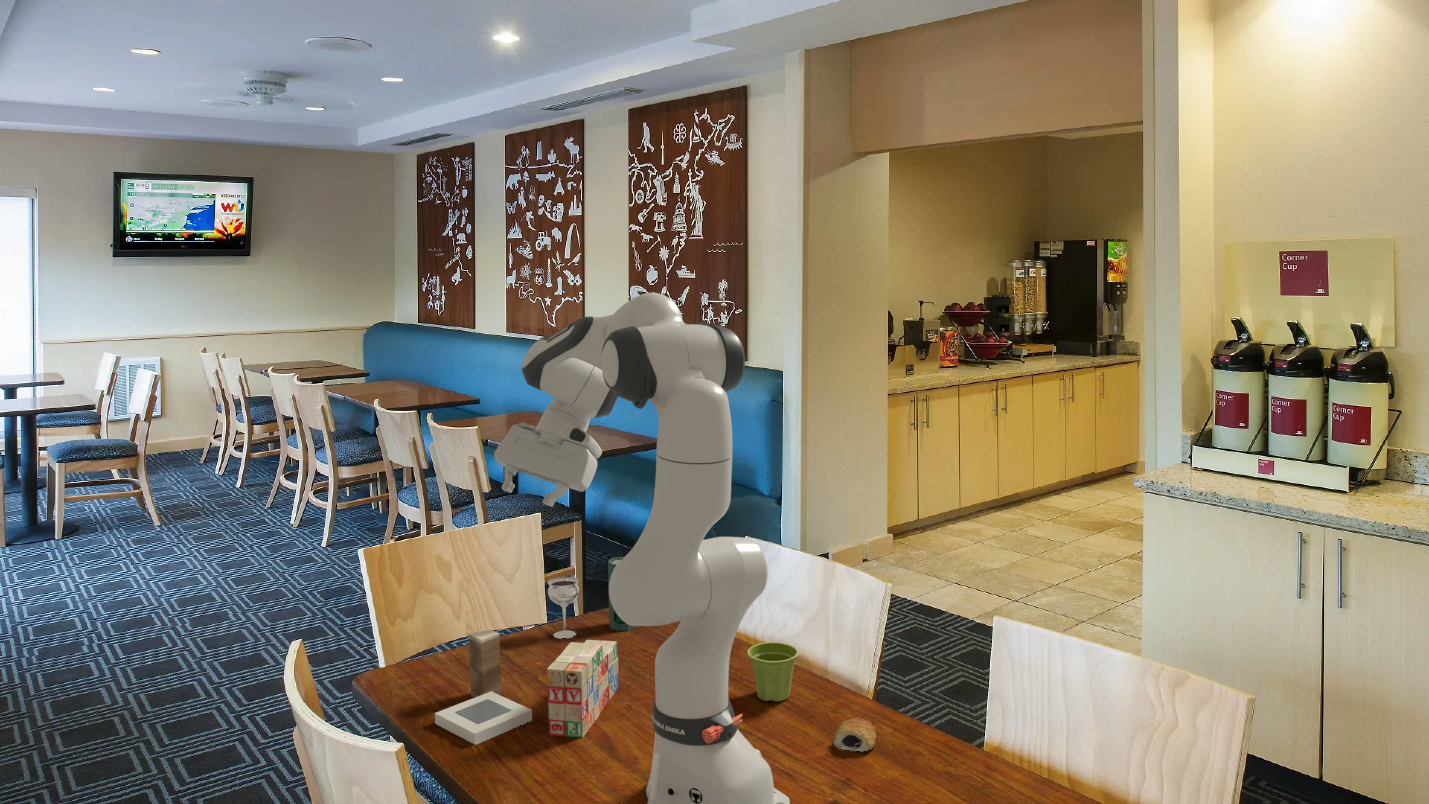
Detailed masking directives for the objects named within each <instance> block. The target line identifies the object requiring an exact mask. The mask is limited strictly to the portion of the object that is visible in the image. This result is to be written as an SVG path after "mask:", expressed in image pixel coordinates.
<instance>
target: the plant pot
mask: <svg viewBox="0 0 1429 804" xmlns="http://www.w3.org/2000/svg"><path fill="white" fill-rule="evenodd" d="M747 655H748V657H749V659H750V662H751V664H752V669H753V675H754V676H753V677H754V684H755V689H756V696H757V697H758V698H759V699H760V700H762V701H764V702H768V701H772V702H775V703H777V702H782V701H785V700H787V699H789V697H790V695H791V688H792V680H793V672H794V665H795V663H796V660H797V657H798V656H799V650H798V649H797V648H796V647H795V646H794V645H792V644H788V643H784V642H776V641H772V642H771V641H770V642H761V643H757V644H754V645H753V646H751V647H749V648H748V650H747Z"/></svg>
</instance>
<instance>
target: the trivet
mask: <svg viewBox="0 0 1429 804" xmlns="http://www.w3.org/2000/svg"><path fill="white" fill-rule="evenodd" d="M532 721H533V710H532V709H531V708H528V707H527V706H525V705H522V704H520V703H518V702H515V701H513V700H511V699H509V698H507V697H506V696H505V697H504V696H502V695H498V694H496V693H494V692H492V691H491V692H488V693H485V694H483V695H480V696H478V697H475V698H474V697H472V698H470V699H468V700H465V701H463V702H460V703H457V704H455V705H452V706H449V707H447V708H444V709H442V710H439V711H437V712H434V723H435V725H437V726H439V727H441V728H443V729H444V730H446V731H448V732H450V733H451V734H454V735H456V736H458V737H460V738H462V739H463V740H465V741H467V742H469V743H471V744H473V745H475V746H477V745H478V744H481V743H483V742H486V741H488V740H490V739H493V738H495V737H497V736H499V735H501V734H505V733H506V732H509V731H511V730H513V728H514V729H516V728H518V727H520V725H521V726H523V725H525V724H527V722H528V723H530V722H532Z"/></svg>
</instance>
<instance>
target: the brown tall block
mask: <svg viewBox="0 0 1429 804" xmlns="http://www.w3.org/2000/svg"><path fill="white" fill-rule="evenodd" d="M500 635H501V634H500V633H499V632H497V631H494V630H493V629H490V628H488V627H487V628H486V627H485V628H483V629H480V630H477V631H474V632H471V633H468V634H467V638H468V653H469V655H468V656H469V678H470V679H469V680H470V681H469V682H470V696H471V697H472V696H473V697H472V698H474V697H478V696H480V695H483V694H485V693H488V692H491V691H492V692H494V693H496V694H498V695H500V696H502V694H503V693H502V675H501V674H502V673H501V651H500V649H501V647H500V646H501V645H500Z"/></svg>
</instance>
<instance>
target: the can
mask: <svg viewBox="0 0 1429 804" xmlns="http://www.w3.org/2000/svg"><path fill="white" fill-rule="evenodd" d="M624 557H625V556H620V557H618V556H617V557H612V558H610V559H609V560H608V561H607V571H608V572H607V574H608V579H607V581H608V582H607V583H608V586H609V582H610V577H611V574H612V572H613V570H614V568H615V566H616V565H617V564H618V563H619V562H620V561H621V560H622V559H623V558H624ZM608 616H609V617H608V620H609V621H608V622H609V628H610V629H611V630H614V631H618V632H619V631H620V632H625V631H628V632H630V631H632V630H635V629H636V628H638V626H631V625H628V624H627V623H625V622H624V621H623V620H622V619H621V618H620V617H619V616H618V615H617V613H616V612H615V610H614V608H613V606H612V604H611V601H610V597H609V596H608Z"/></svg>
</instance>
